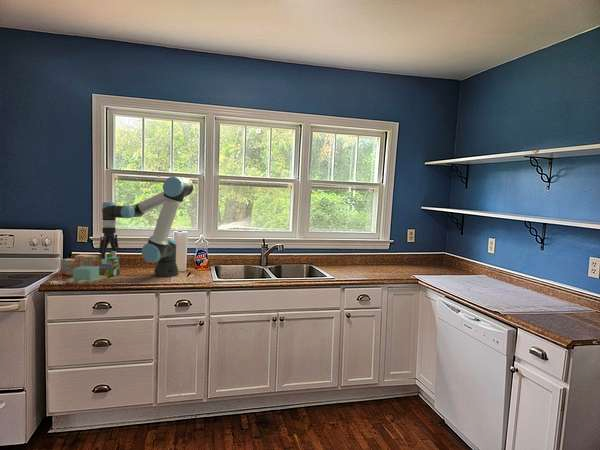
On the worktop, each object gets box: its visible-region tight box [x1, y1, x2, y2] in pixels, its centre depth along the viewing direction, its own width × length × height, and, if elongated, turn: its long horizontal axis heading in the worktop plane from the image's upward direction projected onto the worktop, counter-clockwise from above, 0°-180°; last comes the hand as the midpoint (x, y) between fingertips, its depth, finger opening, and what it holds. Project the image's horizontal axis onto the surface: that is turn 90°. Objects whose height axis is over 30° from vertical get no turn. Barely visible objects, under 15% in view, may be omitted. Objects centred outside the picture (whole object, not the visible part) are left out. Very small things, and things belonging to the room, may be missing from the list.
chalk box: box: [99, 251, 121, 278], centre depth 250 cm, size 9×9×15 cm
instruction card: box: [44, 280, 68, 285], centre depth 227 cm, size 10×7×1 cm
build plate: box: [63, 275, 108, 285], centre depth 235 cm, size 16×16×2 cm
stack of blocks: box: [60, 254, 100, 276], centre depth 251 cm, size 21×6×12 cm, turn 84°
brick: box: [72, 266, 99, 280], centre depth 235 cm, size 10×10×6 cm
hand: (109, 262), depth 250 cm, fingers closed on chalk box, 9 cm apart
